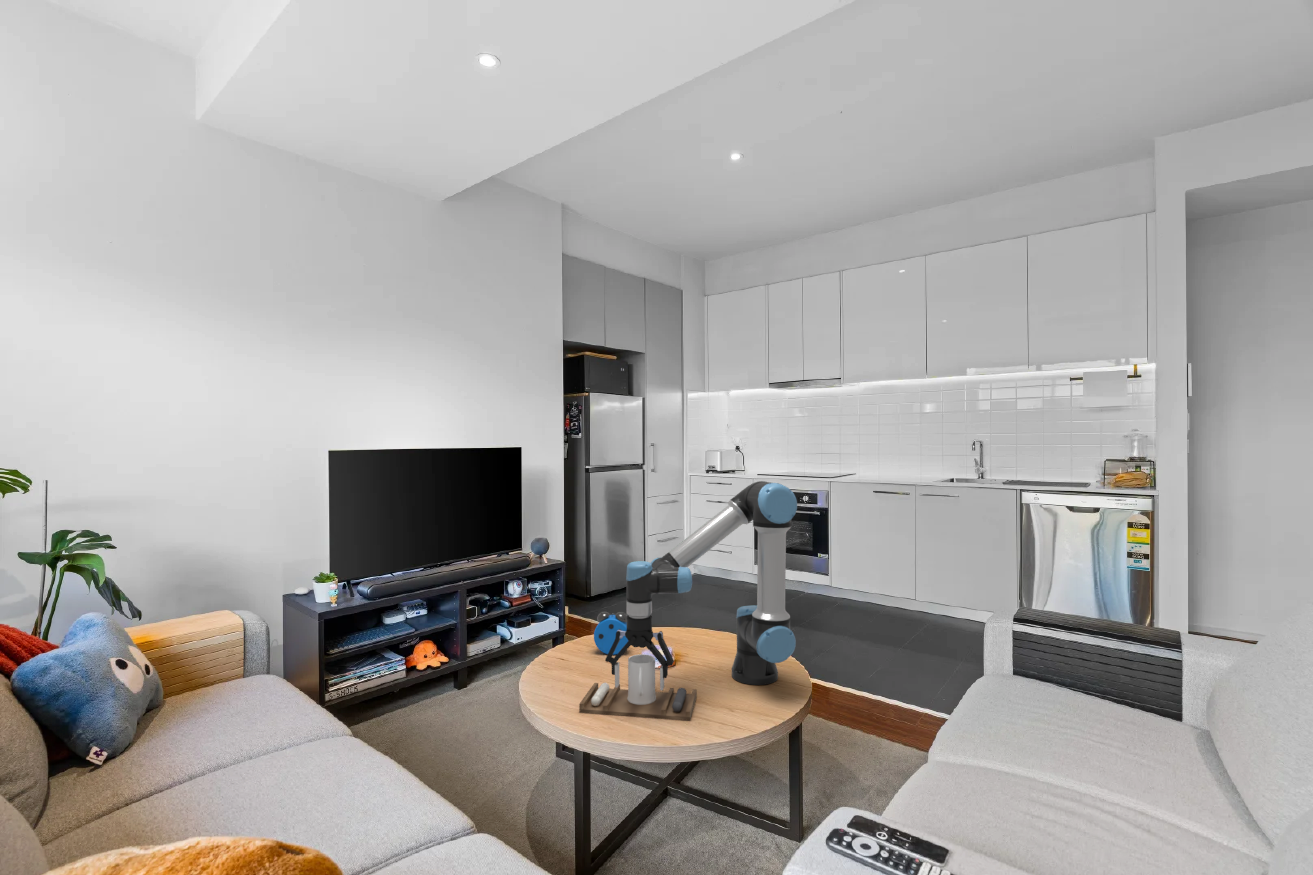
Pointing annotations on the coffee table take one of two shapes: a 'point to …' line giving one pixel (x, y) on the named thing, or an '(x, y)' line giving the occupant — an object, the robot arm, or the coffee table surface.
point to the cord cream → (600, 694)
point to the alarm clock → (610, 631)
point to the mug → (641, 679)
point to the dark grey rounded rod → (679, 699)
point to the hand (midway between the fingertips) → (639, 687)
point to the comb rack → (620, 705)
